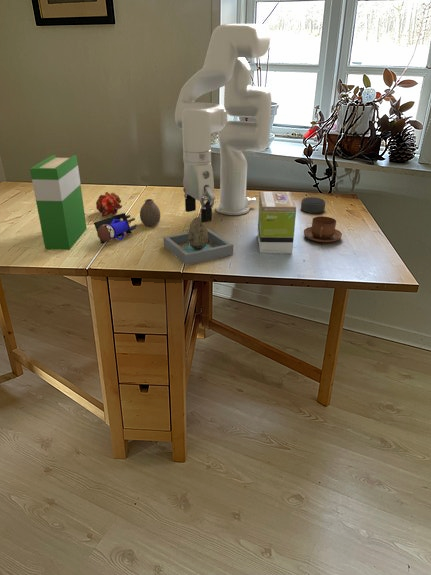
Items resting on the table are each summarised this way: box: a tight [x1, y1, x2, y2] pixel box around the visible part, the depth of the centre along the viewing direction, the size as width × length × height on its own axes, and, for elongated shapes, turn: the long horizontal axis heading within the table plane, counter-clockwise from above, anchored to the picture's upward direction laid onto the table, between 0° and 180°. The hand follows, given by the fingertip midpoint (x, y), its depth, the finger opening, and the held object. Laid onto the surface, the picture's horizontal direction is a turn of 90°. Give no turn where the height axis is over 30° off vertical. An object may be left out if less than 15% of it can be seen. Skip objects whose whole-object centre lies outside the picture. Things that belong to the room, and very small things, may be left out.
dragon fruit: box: [95, 191, 123, 217], centre depth 158 cm, size 8×8×12 cm
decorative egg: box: [188, 216, 209, 250], centre depth 129 cm, size 6×6×10 cm
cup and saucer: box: [303, 215, 343, 243], centre depth 140 cm, size 12×12×6 cm
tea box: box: [257, 191, 297, 254], centre depth 133 cm, size 15×10×15 cm, turn 178°
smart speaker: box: [300, 196, 326, 214], centre depth 165 cm, size 9×9×4 cm
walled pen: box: [163, 227, 234, 266], centre depth 131 cm, size 15×15×3 cm
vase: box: [139, 198, 161, 228], centre depth 148 cm, size 7×7×9 cm
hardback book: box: [29, 154, 88, 251], centre depth 133 cm, size 18×7×24 cm, turn 178°
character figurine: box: [93, 212, 138, 245], centre depth 137 cm, size 8×7×15 cm
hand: (198, 216), depth 127 cm, fingers open, 9 cm apart
